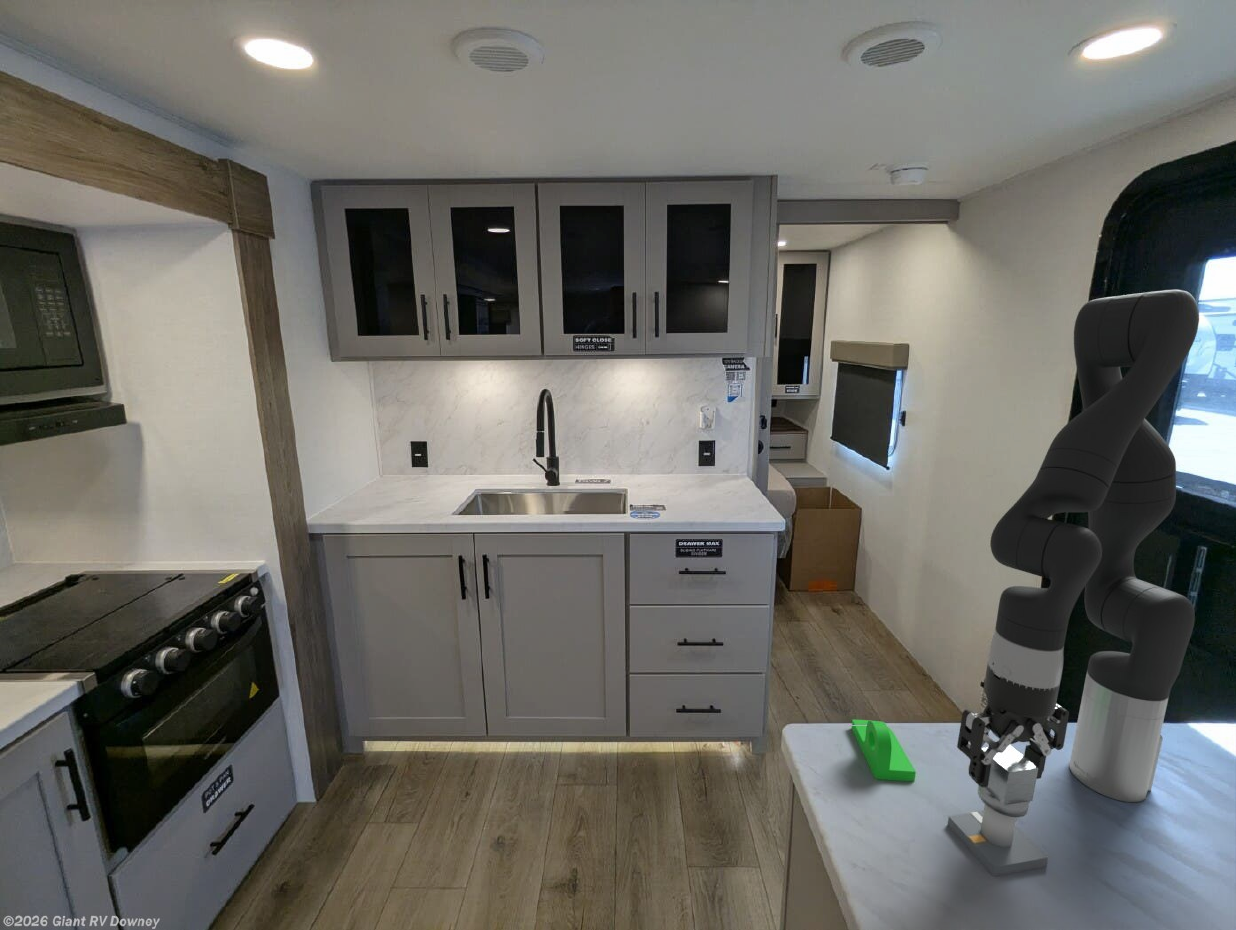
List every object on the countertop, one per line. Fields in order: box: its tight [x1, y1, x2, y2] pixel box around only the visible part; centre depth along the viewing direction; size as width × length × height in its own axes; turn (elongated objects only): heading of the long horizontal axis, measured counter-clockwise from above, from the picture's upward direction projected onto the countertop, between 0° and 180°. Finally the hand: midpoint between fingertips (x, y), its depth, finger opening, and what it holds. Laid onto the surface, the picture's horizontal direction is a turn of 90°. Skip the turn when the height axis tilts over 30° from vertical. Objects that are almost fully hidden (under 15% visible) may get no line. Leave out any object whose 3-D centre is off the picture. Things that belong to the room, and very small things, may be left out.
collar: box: [967, 744, 1038, 818], centre depth 74 cm, size 6×8×7 cm
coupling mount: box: [947, 803, 1049, 877], centre depth 75 cm, size 8×8×7 cm
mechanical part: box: [851, 719, 917, 782], centre depth 92 cm, size 12×6×8 cm, turn 174°
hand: (1004, 778), depth 73 cm, fingers open, 7 cm apart
